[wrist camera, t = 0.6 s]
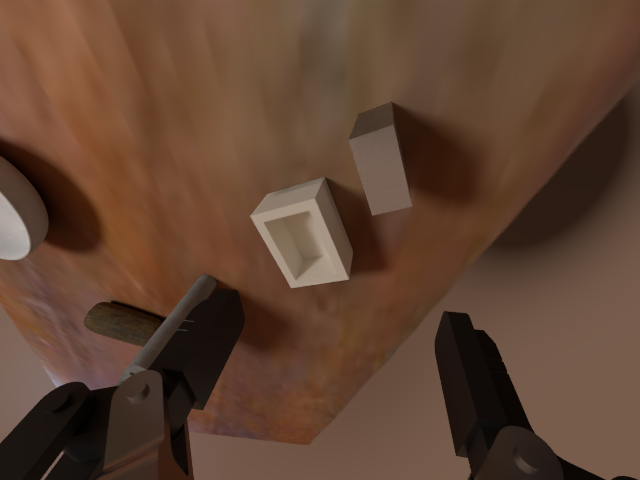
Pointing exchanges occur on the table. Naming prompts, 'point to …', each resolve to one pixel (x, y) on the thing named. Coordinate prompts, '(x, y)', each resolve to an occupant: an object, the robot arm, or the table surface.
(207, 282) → the hip flask
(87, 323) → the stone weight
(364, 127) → the tall brushed metal block
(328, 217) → the hollow off-white angular block
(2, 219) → the serving bowl
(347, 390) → the table surface
